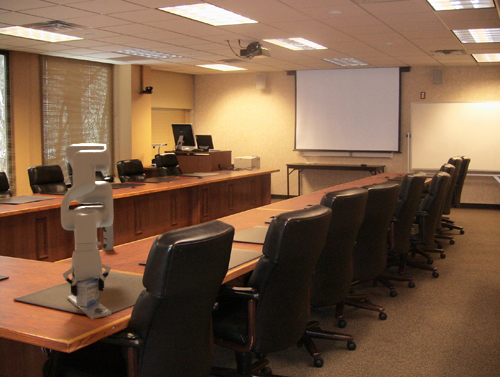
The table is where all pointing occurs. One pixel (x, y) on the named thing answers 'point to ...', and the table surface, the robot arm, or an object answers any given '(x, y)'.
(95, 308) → the beige hinge strap
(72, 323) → the table surface
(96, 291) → the medicine box
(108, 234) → the vintage mobile phone
